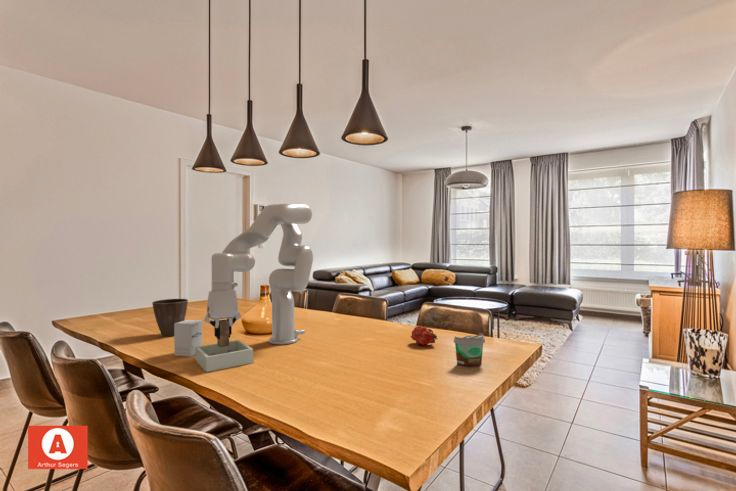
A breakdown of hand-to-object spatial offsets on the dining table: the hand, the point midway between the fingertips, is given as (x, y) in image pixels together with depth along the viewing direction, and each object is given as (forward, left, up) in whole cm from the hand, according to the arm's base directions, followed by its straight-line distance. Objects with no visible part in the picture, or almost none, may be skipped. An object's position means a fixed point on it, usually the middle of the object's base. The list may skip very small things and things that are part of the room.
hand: (223, 337), depth 139 cm
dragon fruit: (-73, +29, -9) cm, 79 cm away
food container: (-68, +58, -9) cm, 90 cm away
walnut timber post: (0, 0, -3) cm, 3 cm away
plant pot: (+8, -57, -9) cm, 58 cm away
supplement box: (+8, -19, -9) cm, 23 cm away
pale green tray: (0, 0, -9) cm, 9 cm away
